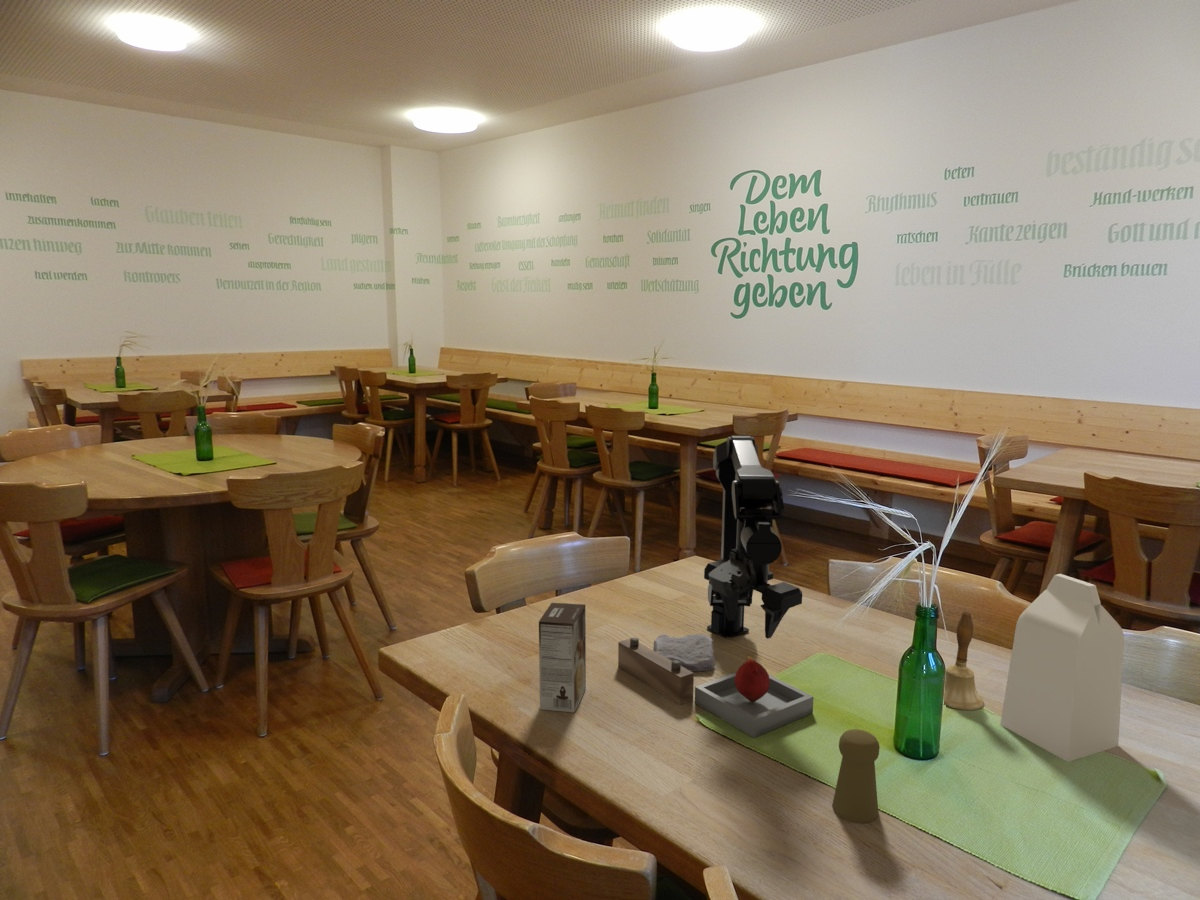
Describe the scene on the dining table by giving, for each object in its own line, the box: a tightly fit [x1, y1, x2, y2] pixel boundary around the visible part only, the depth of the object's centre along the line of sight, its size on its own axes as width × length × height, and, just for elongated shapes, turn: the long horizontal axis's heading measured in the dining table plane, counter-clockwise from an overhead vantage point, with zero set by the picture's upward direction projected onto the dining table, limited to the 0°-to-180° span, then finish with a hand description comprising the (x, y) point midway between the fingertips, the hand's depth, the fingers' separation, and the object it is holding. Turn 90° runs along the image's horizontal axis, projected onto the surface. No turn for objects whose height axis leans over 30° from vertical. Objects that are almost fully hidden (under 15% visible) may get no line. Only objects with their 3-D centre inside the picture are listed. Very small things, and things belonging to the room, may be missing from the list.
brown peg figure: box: [831, 728, 880, 824], centre depth 108 cm, size 6×6×11 cm
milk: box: [999, 573, 1125, 763], centre depth 126 cm, size 12×12×26 cm
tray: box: [694, 672, 815, 739], centre depth 137 cm, size 14×14×3 cm
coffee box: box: [538, 602, 587, 713], centre depth 138 cm, size 9×6×16 cm
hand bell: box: [943, 611, 985, 711], centre depth 139 cm, size 8×8×16 cm
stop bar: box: [617, 637, 695, 705], centre depth 146 cm, size 3×18×6 cm, turn 35°
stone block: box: [652, 633, 716, 672], centre depth 155 cm, size 12×5×10 cm
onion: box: [735, 655, 770, 702], centre depth 136 cm, size 6×6×8 cm
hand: (749, 628), depth 142 cm, fingers open, 9 cm apart
